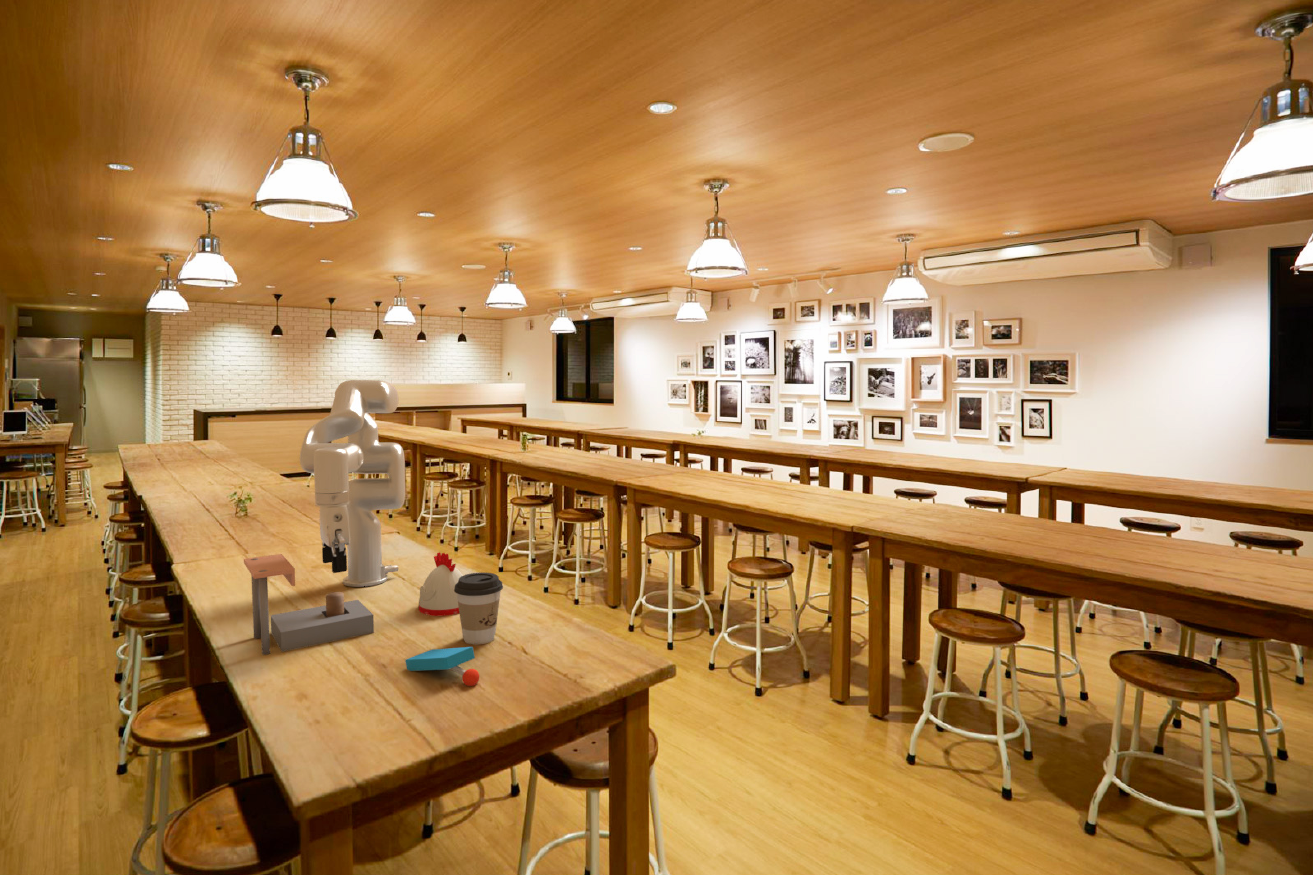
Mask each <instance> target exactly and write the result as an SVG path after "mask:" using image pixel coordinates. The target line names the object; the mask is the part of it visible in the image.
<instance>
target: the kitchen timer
mask: <svg viewBox="0 0 1313 875" xmlns="http://www.w3.org/2000/svg"><path fill="white" fill-rule="evenodd" d="M449 557H450V556H449V553H445V552H442V553H441V551H439V552H437V553H436V555H434V556H433V559H434V564H435V566H436V567H435V568H434V569H433V570H432V571H430V573H429V574H428V576H427V577H426V578H425V580H424V583H423V585H421V586H420V588H419V598H418V611H419V613H421V614H423V615H426V614H427V616H433V617H441V616H442V617H445V616H446V617H447V616H452V615H453V616H454V615H457V614H460V613H459V607H458V600H457V593H456V592H455V591H454V589H455V584H457V583H458V581H459V578H460V577H461V576H464V574H463V573H462V572H461V571H460V569H458V568H457V567H456V565H457V564H456V563H453V558H449Z"/></svg>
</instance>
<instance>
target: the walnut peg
mask: <svg viewBox="0 0 1313 875" xmlns="http://www.w3.org/2000/svg"><path fill="white" fill-rule="evenodd" d="M344 602H345V594H344V592H342V591H341V592H340V591H335V592H334V591H332V592H329V593H327V594H325V605H326V618H328V617H333V616H338V615H344Z"/></svg>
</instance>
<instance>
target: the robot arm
mask: <svg viewBox="0 0 1313 875" xmlns="http://www.w3.org/2000/svg"><path fill="white" fill-rule="evenodd" d="M398 404H399V394H398V391H397V388H396V387H395V386H394V385H393V384H391V383H390V382H388V381H385V380H380V379H379V380H376V379H373V380H372V379H349V380H345V381H342V382H341V383H340V384H338V386H337V388H336V389H335V391H334V398H333V402H332V406H331V408H330V409H331V410H330V413H329V415H327V416H325V417H323V418H322V419H320V420H319V421H318V422H316V423H315V424H313V425H312V426H311V427H310V428H309V429H308V430H307V431H306V433H305V435H304V437H303V441H302V444H301V448H300V451H299V465H300V467H301V469H302V470H303V471H304V472H306V473H308V474H309V473H310V474H313V477H314V481H313V482H314V502H315V503H314V505H315V506H316V507H318V508H319V533H320V539H321V546H322V547H321V551H322V552H321V554H322V563H323V564H329V563H330V564H331V572H332V574H337V573H344V572H347V576H345V577H344V578H343V579H342V584H343V585H344V586H347V587H352V588H363V587H364V586H365V587H371V586H377V585H380V584H383V583H385V582H386V581H387V580H388V574H389V573H395V572H399V565H398V564H395V565H392V564H389V565H384V564H383V560H382V557H383V552H382V526H381V522H380V519H379V518H378V516H377V515H376V514H375V513H374V512H373V511H376V510H379V511H380V510H398V509H400V508H402V507H403V506H404V504H405V501H406V462H405V452H404V448H403V446H401V444H399V443H398V442H390V441H389V442H386V441H385V442H380V441H379V426H378V424H377V422H376V421H375V419H374V418H373V417H372V416H371V415H370V414H392V413H395V411H396V410H397V408H398V407H399V406H398ZM346 437H347V442H339V443H338V442H333V441H336V440H341V439H343V438H346ZM351 473H353V474H359V475H360V474H361V475H374V474H376V475H377V474H379V475H381V474H382V475H384V474H386V475H388V477H381V478H379V477H378V478H377V477H376V478H375V477H374V478H373V477H371V478H369V477H368V478H366V477H365V478H354V479H351V480H350V479H349V478H350V477H349V474H351ZM346 546H347V547H346Z"/></svg>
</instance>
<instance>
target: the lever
mask: <svg viewBox="0 0 1313 875" xmlns="http://www.w3.org/2000/svg"><path fill="white" fill-rule="evenodd" d="M474 659H475V653H474V647H473V646H466V647H465V646H464V647H452V648H451V647H450V648H436V649H435V648H434V649H429V650H427V651H423V652H422V653H419V654H417V655H414V656H411V657H409V658H406V659H405V660H404V662H405V666H406V670H407V671H409V672H412V671H413V672H416V671H436V670H437V671H440V670H443V671H444V670H452V671H453V672H456V673H457V674H459V675H460V676H462V678H461V679H462V682H463V684H464V685H465V686H467V687H473V686H475V685H477V684H478V683H479V682H480V672H479V671H478V670H477V669H474V668H468V669H467V670H466V669H463V668H462V667H461V666H460V665H462V664H464V663H466V662H469V661H472V660H474Z"/></svg>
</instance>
